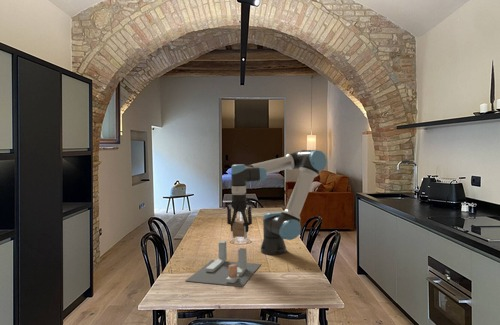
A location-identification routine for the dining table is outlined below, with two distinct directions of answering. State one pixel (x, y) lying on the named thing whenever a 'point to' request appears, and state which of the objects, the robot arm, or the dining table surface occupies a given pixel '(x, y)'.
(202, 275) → the mat
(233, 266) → the peach egg shape
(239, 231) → the block
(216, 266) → the grey stepped bracket
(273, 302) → the dining table surface
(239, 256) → the broken strip
